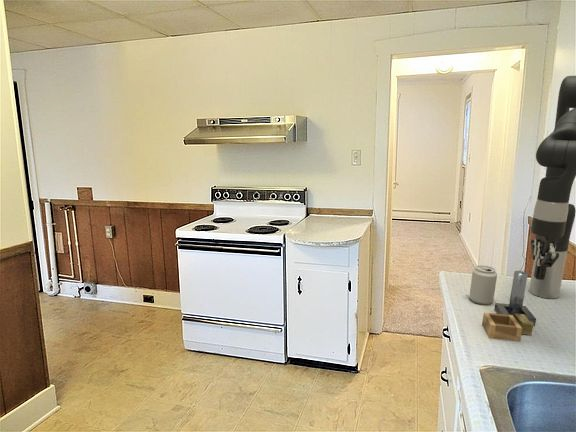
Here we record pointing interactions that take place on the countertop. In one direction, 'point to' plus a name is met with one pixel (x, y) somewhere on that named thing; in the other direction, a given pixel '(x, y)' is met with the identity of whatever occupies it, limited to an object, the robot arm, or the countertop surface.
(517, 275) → the grey capsule rod
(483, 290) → the can
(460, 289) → the countertop surface
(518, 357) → the countertop surface
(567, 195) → the robot arm
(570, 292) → the countertop surface
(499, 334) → the brown square frame
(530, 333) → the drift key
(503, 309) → the socket block
